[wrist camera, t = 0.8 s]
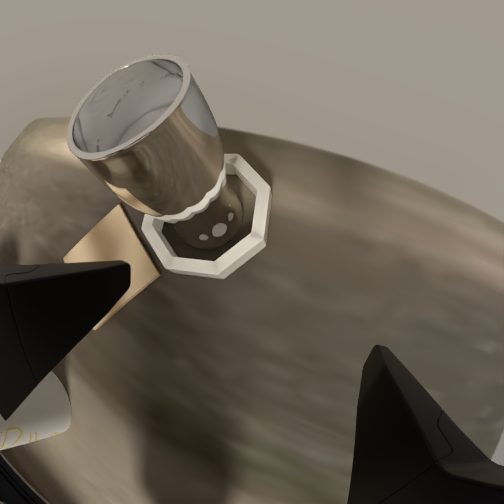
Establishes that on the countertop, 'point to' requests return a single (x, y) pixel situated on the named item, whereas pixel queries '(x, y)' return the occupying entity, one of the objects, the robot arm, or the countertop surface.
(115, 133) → the beer glass
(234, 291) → the countertop surface
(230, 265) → the holder ring
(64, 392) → the cup
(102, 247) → the coaster
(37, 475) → the countertop surface
